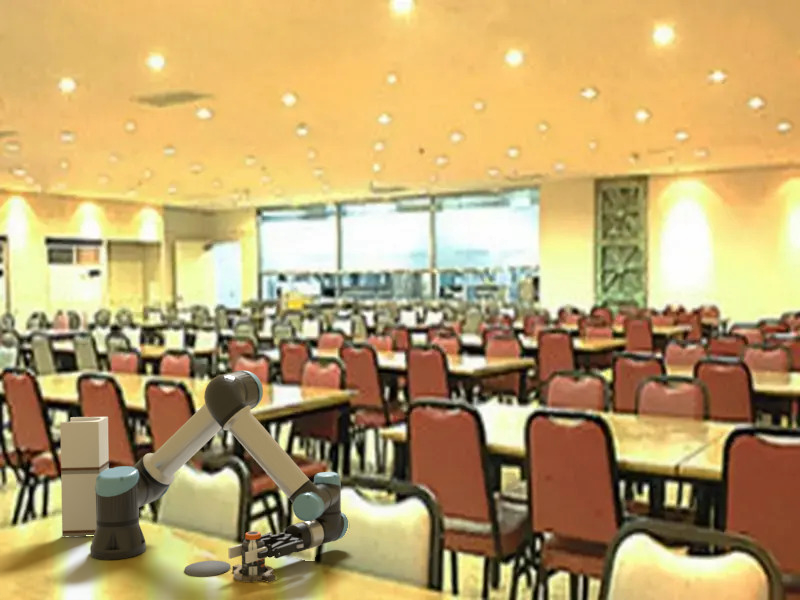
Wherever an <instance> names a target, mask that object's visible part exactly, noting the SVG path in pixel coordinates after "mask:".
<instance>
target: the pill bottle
mask: <svg viewBox="0 0 800 600" xmlns="http://www.w3.org/2000/svg"><path fill="white" fill-rule="evenodd" d="M244 535H245V539H246V540H245V539H244V540H245V541H244V540H243V542H242V543H241V544H242V555H241V565H242V574H244V575H259V574H263V573H265V565H266V558H264V559H261V560H257V561H254V562H251V563H248V564H247V563H245V552H249V551H252V550H255V549H259V548H262V547H265V543H264V541H263V540H261V535H262V532H260V531H256V530H253V531H248V532H246V533H245V534H244Z"/></svg>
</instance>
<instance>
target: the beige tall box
mask: <svg viewBox="0 0 800 600" xmlns="http://www.w3.org/2000/svg"><path fill="white" fill-rule="evenodd" d="M59 424H60V426H59V427H60V428H59V429H60V431H59V432H60V475H61V476H60V477H61V483H60V484H61V537H62V536H86V535H94V534H95V530H96V491H95V486H96V478H97V476H98V475H99V474H100V473H101V472H102V471H104V470H107V469H110V461H109V456H110V454H109V453H110V451H109V416H90V417H89V416H76V417H75V416H73V417H70V421H60V423H59Z"/></svg>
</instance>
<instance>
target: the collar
mask: <svg viewBox="0 0 800 600" xmlns="http://www.w3.org/2000/svg"><path fill="white" fill-rule="evenodd" d="M233 571H234V572H233ZM232 572H233V579H234V580H235V579H237V580H236V581H238V580H239V581H238V582H241V581H245V582H244V583H254V582H253V581H258V582H266V581H268V582H267V583H269V582H270V583H272V582H271V581H273V580H275V581H276V574H274V569H273V567H272V566H269V565H266V564H265V572H266V573H263V574H259V575H244V574H242V564H235V565H232ZM262 580H264V581H262ZM273 582H274V581H273Z"/></svg>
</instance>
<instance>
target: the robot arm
mask: <svg viewBox="0 0 800 600" xmlns="http://www.w3.org/2000/svg"><path fill="white" fill-rule="evenodd" d="M263 388H264V387H263V384H262V381H261V380H260V378H259V377H258V376H257V374H255V373H253V372H251V371H249V370H236V371H234V372H229V373H223V374H219V375H217V376H215V377H213V378H212V379H211V380H210V381H209V382H208V383H207V384H206V387H205V390H204V398H203V399H204V404H203V405H202V406H201V407H200V408H199V409H198V410H197V411H196V412H195V413H194V414H193V415H192V416H191V417H190V418H188V420H187V421H186V422H185V423H184V424H183V425H181V426H180V427H179V428H178V429H177V430H176V431H175V433H174V434H173V435H171V436H170V437H169V438H168V439H167V440H166V441H165V442H164V443H163V444H162V445H161V446H160V447H159V448H158V449H157V450H156V451H155V452H153V453H151V452H149V453H145V455H144V456H143V457H141V458H140V460H138V461H137V462H136V463H135V464H134V465H133V466H128V465H127V466H125V465H122V466H114V467H113V468H111V467H109V469H107V470H104V471H102V472H101V473H100V474H99V475H98V476H97V478H96V486H95V491H96V530H95V534H94V537H92V540H91V541H92V542H91V544H90V547H89V550H90V553H89V554H90V556H91V557H92V558H94V559H97V560H111V561H112V560H121V559H128V558H129V559H130V558H134V557H137V556H139V555H141V554H143V553H145V552H146V550H147V548H146V547H147V546H146V545H147V544H146V543H147V542H146V539H145V537H144V534H143V530H142V528H141V525H140V509H139V508H142V507H143V506H146V505H147V504H150V503H154V502H156V501H158V500H160V499H161V498H162V497H163V496H164V495H166V493H167V492H168V490H169V488H170V486H171V485H172V483H174V481H175V478H176V477H175V474H176V473H177V472H178V471H179V470H180V469H181V468H182V467H183V466H184V465H185V464H186V463H187V462H188V461H189V460H191V458H192V457H193V456H195V455H196V454H197V453H198V452H199V451H200V450H201V449H202V448H203V447H204V446H205V445H206V444H207V443H208V442H210V440H211V439H212V438H213V437H214V436H215V435H216V434H217V433H218V432H220V431H221V429H223V430H224V431H229V432H230V433H231V434H232V436H233V437H234V438H236V440H237V441H238V442H239V443H240V444H241V446H242V447H243V448H244V449H245V450H246V451H247V453H248V454H249V455H250V456H251V457H252V459H254V461H255V462H256V463H257V464H258V465H259V466H260V467H261V468H262V470H263V471H264V472H265V474H267V475H268V477H269V478H270V479H271V480H272V481H273V482H274V483H275V485H276V486H277V487H278V488H279V489H280V490H281V492H283V494H284V495H285V496H286V497H287V498H288V500H290V501H291V502H290V503H292V510H293V514H294V516H295V517H296V518H297V519H298V520H301V521H302V522H301V521H300V522H297V523H293V524H291V525H288V526H287V527H286V529H285V530H284V532H279V533H277V534H273V532H267V533H265V534H261V540H263V541H264V543H265V547H262V548H259V549H255V550H252V551H249V552H245V563H247V564H248V563H251V562H254V561H257V560H261V559H264V558H265V559H267V557H268V558H275V559H280V558H282V557H285V556H287V555H290V554H293V553H301V552H303V551H306V550H310V549H313V548H315V547H316V548H317V547H319V546H321V545H324V544H327V543H331V542H335V541H338V540H340V539H342V538H344V537H345V536H344V535H345V533H346V531H347V528H348V522H349V519H347V518H348V517H346V516H347V515H346V514H345V513H344V512H343V511H342V510H341V509H342V508H341V507H342V505H341V504H342V502H341V500H342V498H341V495H342V492H341V491H342V489H341V488H342V485H341V476H340V474H339V473H337V472H334V471H325V472H324V471H323V472H318V473H316V474H315V475H314V477H313V482H312V481H311V480H310V479H309V478H308V475H306V474H305V473H304V472H303V470H302V469H301V468H300V467H299V466H298V464H297V463H296V462H294V460H293V459H292V458H291V456H290V455H288V453H287V452H286V451H285V450H284V449H283V447H281V445H280V444H279V443H278V442H277V441H276V440H275V438H274V437H273V436H272V434H270V432H268V430H267V429H266V428H265V427H264V426H263V425H262V424H261V422H260V421H259V420H258V419H257V418H256V417H255V416H254V415H253V413H251V410H253V409H255V408H256V407H257V406H258V405H260V403H261V402H262V399H263V394H264V389H263ZM343 536H344V537H343ZM245 540H246V538H245V539H243V542H244V541H245ZM227 551H228V559H231V560H232V559H235V558H238V557H242V543H240V544H237V545H234V546H231V547H228V550H227Z"/></svg>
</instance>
